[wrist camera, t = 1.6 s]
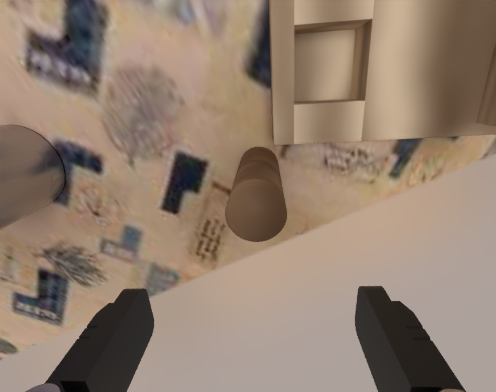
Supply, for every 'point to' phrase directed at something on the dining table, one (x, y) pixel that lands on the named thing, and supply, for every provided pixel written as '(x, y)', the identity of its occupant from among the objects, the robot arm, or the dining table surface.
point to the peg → (257, 197)
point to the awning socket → (381, 69)
